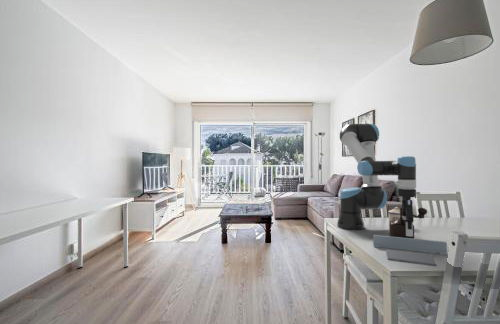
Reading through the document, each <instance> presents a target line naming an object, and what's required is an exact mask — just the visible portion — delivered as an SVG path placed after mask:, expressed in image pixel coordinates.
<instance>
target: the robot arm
mask: <svg viewBox="0 0 500 324" xmlns="http://www.w3.org/2000/svg"><path fill="white" fill-rule="evenodd" d="M339 139H340V142H341V144H343V145H344V146H346V148H347V149H348V151H349V153H350V154H351V155H352V156H353V158H354V159H355V161H356V162H357V169H356V170H357V173H358V174H359V175H360V176H361V177H362V185H361V187H347V188H343V189H341V190H340V193H339V202H340V203H339V205H340V206H339V208H340V209H339V212H340V213H339V216H338V219H337V225H336V226H337V227H338V228H340V229H344V230H355V231H356V230H363V229H364V228H365V223H364V220H363V217H362V213H361V210H382V209H384V208H385V207H386V205H387V202H388V193H387V192H386V190H385V189H383V186H382V185H380V184H379V178H378V177H379V176H397V181H396V184H397V187H398V189H397V196H398V197H401V203H402V204H401V208H402V209H403V210H402V211H403V212H404V213H406V215H405V214H403V213H402V218H403V219H404V220H405V222H406V236H412V237H413V225H414V221H415V220H414V217H413V215H414V211H413V200H412V199H411V198H416V197H417V190H416V189H417V164H416V163H417V162H416V157H415V156H411V155H410V156H407V155H406V156H398V158H397V160H376V152H375V145H376V144H377V142H378V141H379V139H380V130H379V127H378V126H377V125H376V124H374V123H369V122H368V123H348V124H346V125H345V126H344V127H342V128H341V130H340V132H339Z"/></svg>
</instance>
